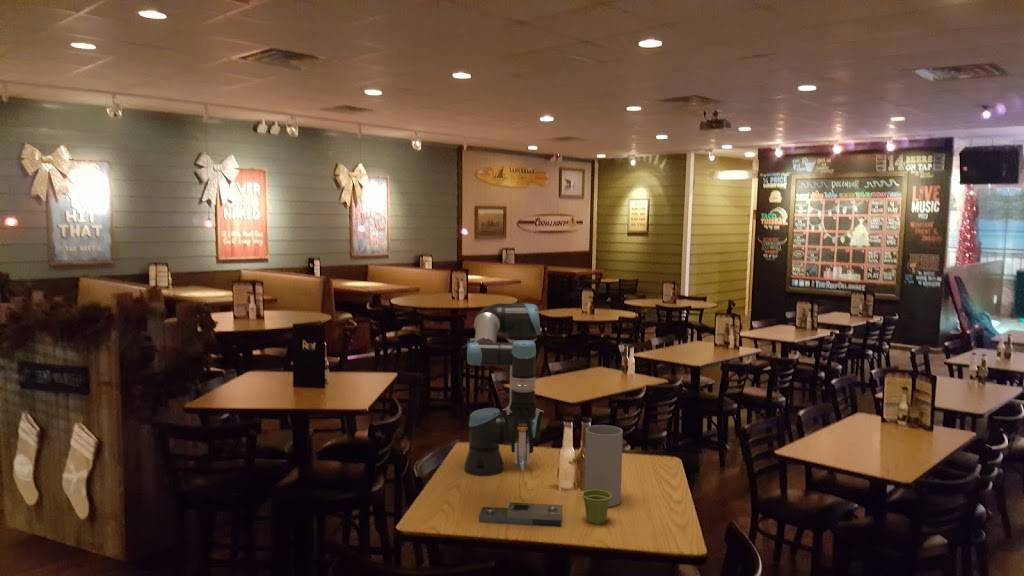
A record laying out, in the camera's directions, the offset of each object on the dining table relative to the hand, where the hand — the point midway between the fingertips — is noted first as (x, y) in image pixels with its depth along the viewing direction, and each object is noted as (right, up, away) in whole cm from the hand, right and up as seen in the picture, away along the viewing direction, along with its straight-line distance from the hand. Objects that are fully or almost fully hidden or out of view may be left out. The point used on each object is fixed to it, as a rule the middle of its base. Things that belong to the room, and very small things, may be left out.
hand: (522, 462), depth 236 cm
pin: (0, -2, 0) cm, 2 cm away
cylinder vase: (+28, -18, +18) cm, 38 cm away
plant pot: (+24, -19, +1) cm, 31 cm away
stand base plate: (0, -19, +1) cm, 19 cm away
